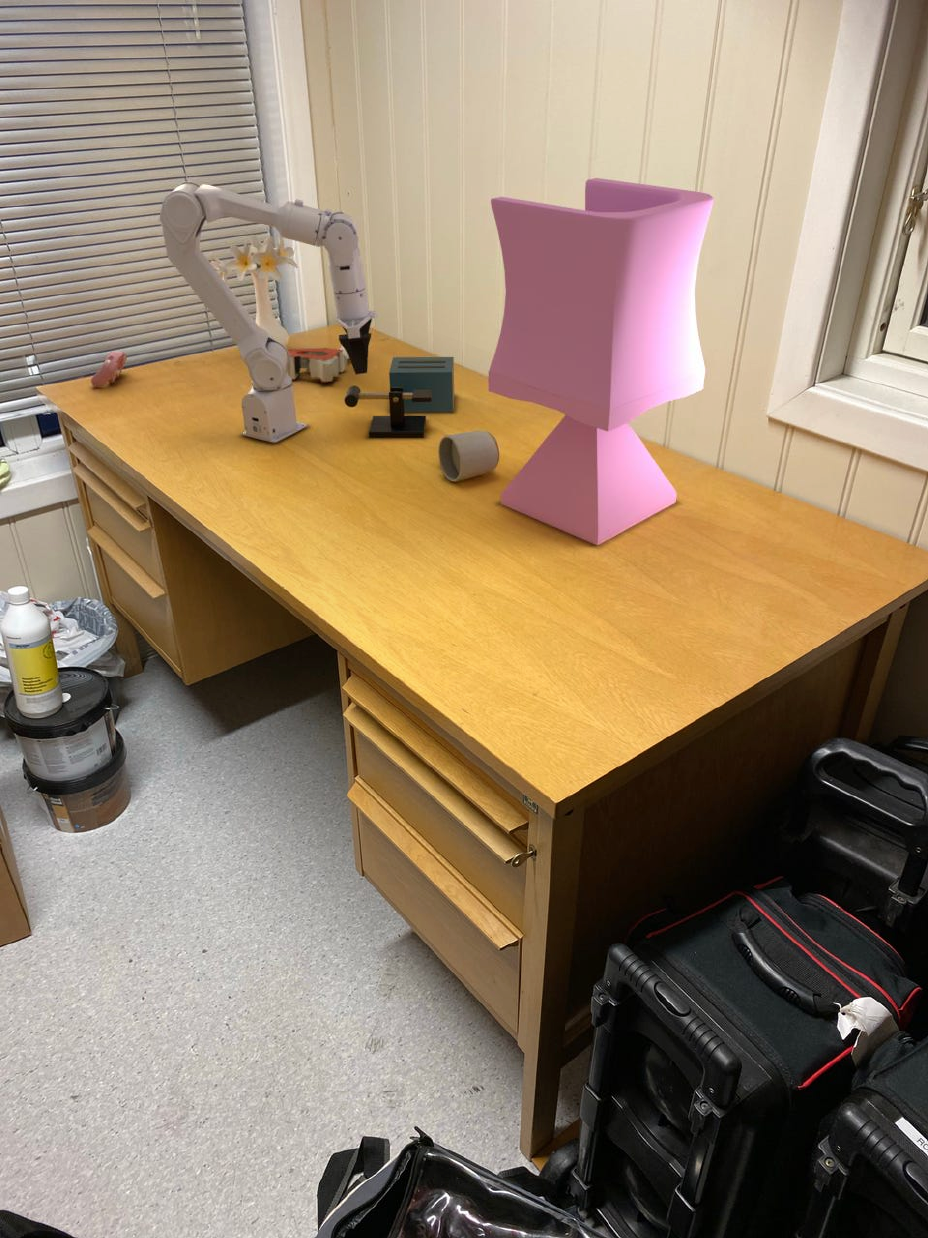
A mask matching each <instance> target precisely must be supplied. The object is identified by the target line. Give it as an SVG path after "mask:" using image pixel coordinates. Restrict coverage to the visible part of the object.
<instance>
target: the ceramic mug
mask: <svg viewBox="0 0 928 1238" xmlns="http://www.w3.org/2000/svg"><path fill="white" fill-rule="evenodd" d="M497 442H498V441H497V440H496V438H495V437H494V436H493V434H492V433H491V432H490V431H488V430H472V431H467V432H459V433H452V434H446V435H444V436H442V438H441V439H440V440H439V443H438V450H437V454H438V461H439V462H438V463H439V466H440V468H441V471H442V473H443V474H444V476H445V477H446V479H447V480H448V481H451V482H454V483H456V482H459V481H463V480H467V479H471V478H474V477H477V476H482V475H486V474H488V473H491V472H492V471H494V470H496V468H497V466H498V464H499V461H500V450H499V445H498V443H497Z"/></svg>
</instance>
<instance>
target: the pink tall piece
mask: <svg viewBox="0 0 928 1238" xmlns="http://www.w3.org/2000/svg"><path fill="white" fill-rule="evenodd" d="M584 186H585V188H584V209H580V208H579V209H578V208H573V207H567V206H560V205H554V204H548V203H542V202H537V201H529V200H525V199H518V198H511V197H507V196H499V197H498V196H497V197H494V198H492V197H491V199H490V205H491V211H492V215H493V219H494V222H495V226H496V230H497V235H498V236H497V237H498V240H499V245H500V250H501V257H502V263H503V271H504V283H505V284H504V286H505V287H504V289H505V295H504V297H505V298H504V308H503V309H504V310H503V317H502V321H501V328H500V332H499V336H498V340H497V343H496V348H495V351H494V354H493V357H492V360H491V364H490V366H489V370H488V392H490V393H493V394H496V395H498V396H502V397H505V398H507V399H510V400H516V401H523V402H528V403H533V404H536V405H538V406H541V407H545V408H548V409H551V410H554V411H557V412H559V413H561V414H563V415H564V416H563V417H562V418H561V420H560V421H559V422H558V424H557V425H556V426H555V427H554V428H553V429H552V431H551V432H550V433H549V435H548V436H547V437H546V438H545V440H543V442H541V444H540V446H539V447H538V448H537V450H535V452H534V453H533V454H532V455H531V456H530V457H529V459H528V460H527V461H526V462H525V464H524V465H523V466H522V468H521V469H520V470H519V471H518V473H517V474H516V475H515V476H514V477H513V478H512V480H511V481H510V482H509V483H508V485H507V486H506V487H505V488H504V490H503V491H502V492H501V493H500V505H502V506H505V507H508V508H510V509H512V510H514V511H517V512H519V513H521V514H524V515H526V516H528V517H531V518H533V519H536V520H537V521H540V522H542V523H544V524H546V525H548V526H551V527H554V528H556V529H558V530H561V531H562V532H565V533H567V534H570V535H572V536H575V537H577V538H579V539H581V540H584V541H585V542H589V543H590V544H593V545H596V546H600V545H601V544H603V543H605V542H606V541H608V540H610V539H612V538H614V537H615V536H618V535H619V534H621V533H623V532H625V531H627V530H628V529H631V528H632V527H634V526H636V525H638V524H639V523H641V522H643V521H644V520H646V519H648V518H650V517H653V516H654V515H656V514H657V513H659V512H661V511H663V510H665V509H666V508H668V507H671V505H673V504H675V503H676V501H677V494H678V493H677V491H676V489H675V488H674V486H673V485H672V483H671V482H670V480H669V479H668V478H667V476H666V475H665V474H664V471H662V469H661V468H660V467H659V465H658V463H657V462H656V460H655V459H654V458H653V457H652V454H651V453H650V452H649V451H648V449H647V448H646V447H645V444H644V443H643V442H642V441H641V439H640V438H639V436H638V435H637V433H636V432H635V430H634V429H633V427H632V426H631V425H630V423H631V422H632V421H633V420H635V419H637V418H638V417H639V416H641V415H643V414H645V413H646V412H648V411H649V410H651V409H655V408H657V407H658V406H661V405H663V404H665V403H668V402H671V401H674V400H679V399H683V398H686V397H688V396H691V395H693V394H696V393H697V392H700V391H702V390H704V384H705V375H706V367H705V363H704V358H703V353H702V349H701V344H700V339H699V338H700V337H699V332H698V326H697V315H696V294H695V293H696V292H695V291H696V281H697V272H698V265H699V264H698V263H699V259H700V254H701V249H702V245H703V241H704V237H705V233H706V229H707V226H708V222H709V219H710V215H711V211H712V208H713V205H714V199H715V198H714V197H713V196H712V195H711V194H709V193H707V192H700V191H695V190H688V189H680V188H675V187H674V188H673V187H667V186H659V185H651V184H644V183H637V182H629V181H622V180H616V179H608V178H600V177H594V178H588V179H586V180H585V185H584Z"/></svg>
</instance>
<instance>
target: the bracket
mask: <svg viewBox="0 0 928 1238" xmlns="http://www.w3.org/2000/svg"><path fill="white" fill-rule="evenodd" d="M394 391H399V392H394ZM388 393H389V399H388V400H389V401H388V403H389V404H388V405H389V415H373V416H372V419H371V422H370V426H369V430H368V438H369V439H424V438H425V432H426V425H427V415H405V414H406V413H405V412H404V399H403V397H402V393H404V392H403V387H390V386H389V391H388Z"/></svg>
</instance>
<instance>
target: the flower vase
mask: <svg viewBox="0 0 928 1238" xmlns="http://www.w3.org/2000/svg"><path fill="white" fill-rule="evenodd" d="M249 242H250V243H251V244H248V241H247V239H245V240H244V242H243V250H241V249H240V248H239V247H238V246H237V245H235V244H231V245H230V247H229V251H230V254H231V255H232V257H233V258H234V259H231V260H229V261H227V262H226V263H224V262H223V261H222V260H220V259H219V258H218V257H217V256H215V255H214V254H213V253H212V252H211V251H210V252H209V254H210V256H211V257H212V259H213V260H210V264H211V265H212V266H213V267H214V269H215V270H216V271H220V272H219V273H218V274H219V275H220V277H221V278H222V279H223V280H224V282H225V283H226V284H227V285H228V273H229V271H231V273H234V272H235V271H236V270H237V272H236V278H237V280H238V281H243V280H244V278H245V277H246V273H247V271H249V273H250V275H251V278H252V282H253V287H254V295H255V305H256V315H255V320H254V321H255V322H256V323H257V325H258V326H259V327H261V328H262V329H264V330H266V331H267V332H268V333H269V335H270V336H271V337H272V338H273V339H275V340H276V341H278V342H280V343H282V344H283V345H284V346H285V347H286V348H287V346H288V344H289V342H290V336H289V333H288V332H287V330H286V328H284V326H282V325H281V324H280V323H279V322H278V320H277V319H276V317H275V315H274V311H273V308H272V303H271V296H270V289H269V275H270V277H272V279H273V280H275V281H277V282H281V281H282V273H281V271H280V270H279V269H278V268H279V267H283V266H284V265H291V266H293V267H294V268H295V269H298V268H299V266H298V264H297V262H295V260H294V259H293V258H291V257H292V256H294V254H295V251H294V249H293V248H292V247H291V246H286V247H285V241H284V238H283V237H282V236H281V235H280V233H279V235H278V240H276V241H275V237H274V236H269V237H266V238H265V240H263V242H262V241H261V240H260V239H259V237H258V236H256V235H255V234H252V235H250V236H249ZM274 243H275V244H276V247H274Z"/></svg>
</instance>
